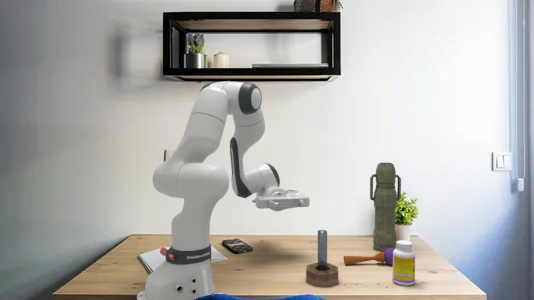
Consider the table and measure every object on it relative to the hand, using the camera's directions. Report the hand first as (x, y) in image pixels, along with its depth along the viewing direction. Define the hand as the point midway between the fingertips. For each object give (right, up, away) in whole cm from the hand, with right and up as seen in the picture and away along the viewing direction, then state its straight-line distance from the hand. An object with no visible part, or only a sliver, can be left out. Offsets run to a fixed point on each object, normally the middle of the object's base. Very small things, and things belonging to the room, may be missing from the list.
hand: (289, 205), depth 135 cm
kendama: (+30, -22, +3) cm, 37 cm away
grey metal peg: (+10, -22, -12) cm, 27 cm away
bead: (+10, -22, -12) cm, 27 cm away
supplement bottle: (+35, -23, -13) cm, 44 cm away
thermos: (+40, -21, +21) cm, 49 cm away
